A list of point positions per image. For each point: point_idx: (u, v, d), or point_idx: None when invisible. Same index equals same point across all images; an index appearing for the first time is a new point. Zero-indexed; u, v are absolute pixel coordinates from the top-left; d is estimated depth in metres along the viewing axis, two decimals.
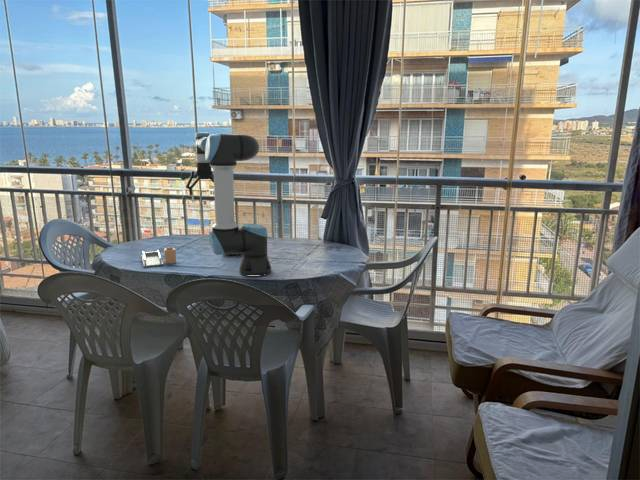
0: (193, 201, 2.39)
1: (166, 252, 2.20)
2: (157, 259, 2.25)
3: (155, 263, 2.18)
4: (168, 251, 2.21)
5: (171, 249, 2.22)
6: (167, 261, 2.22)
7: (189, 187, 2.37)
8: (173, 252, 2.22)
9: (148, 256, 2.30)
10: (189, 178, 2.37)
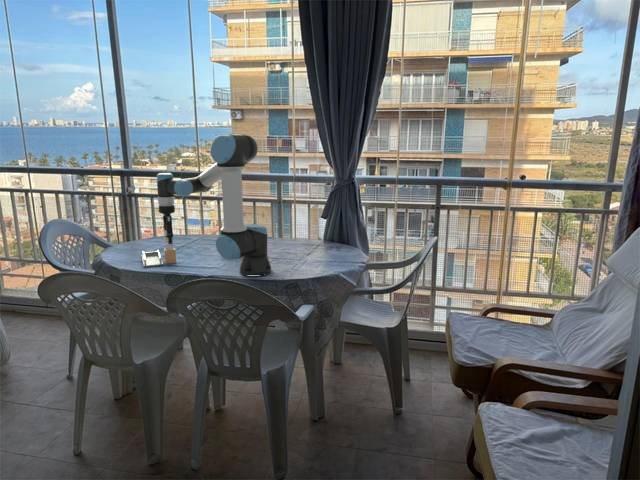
0: None
1: (166, 252, 2.20)
2: (157, 259, 2.25)
3: (155, 263, 2.18)
4: (168, 251, 2.21)
5: None
6: (167, 261, 2.22)
7: None
8: (173, 252, 2.22)
9: (148, 256, 2.30)
10: None
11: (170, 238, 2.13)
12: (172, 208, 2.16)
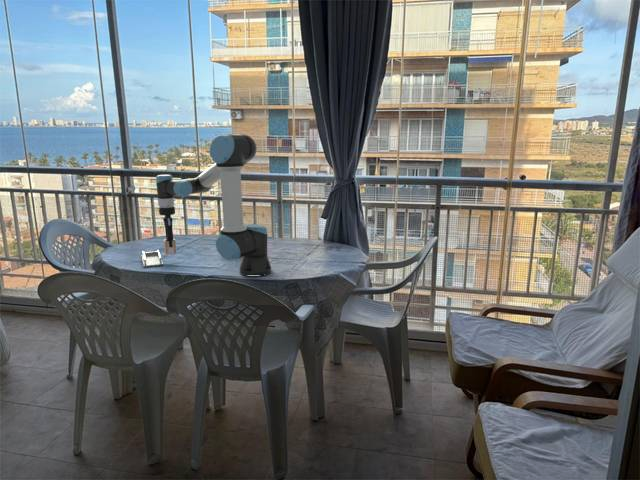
0: None
1: (166, 242, 2.19)
2: (157, 259, 2.25)
3: (155, 263, 2.18)
4: None
5: None
6: (167, 252, 2.20)
7: (167, 236, 2.24)
8: (173, 242, 2.20)
9: (148, 256, 2.30)
10: None
11: (170, 242, 2.18)
12: (172, 209, 2.16)
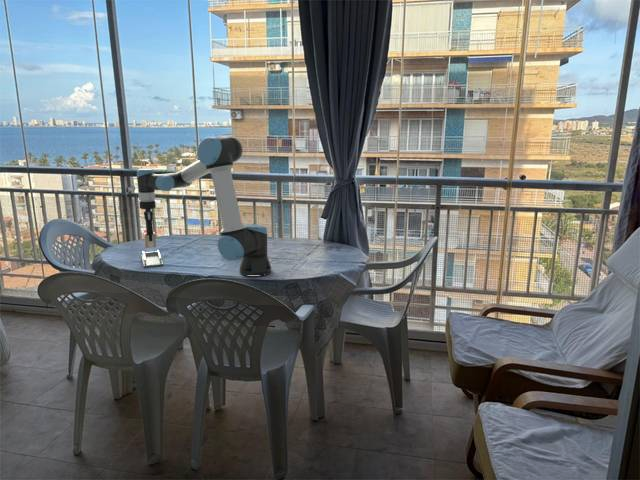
0: None
1: (146, 236, 2.19)
2: (157, 259, 2.25)
3: (155, 263, 2.18)
4: None
5: None
6: (147, 245, 2.21)
7: None
8: (153, 236, 2.21)
9: (148, 256, 2.30)
10: None
11: (150, 236, 2.18)
12: (153, 203, 2.16)
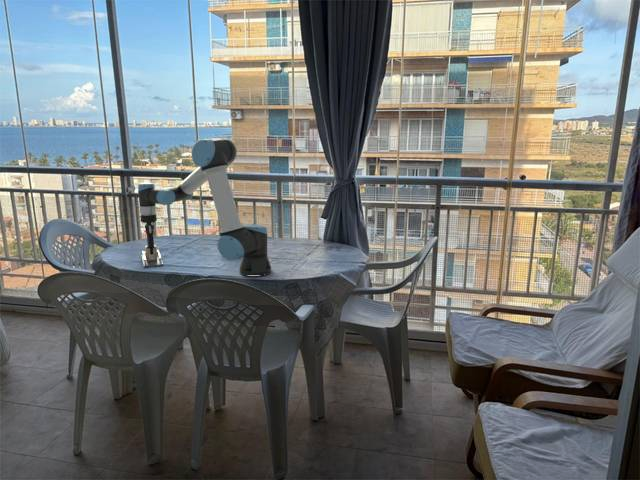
0: None
1: (147, 249, 2.21)
2: (157, 259, 2.25)
3: (155, 263, 2.18)
4: None
5: None
6: (148, 258, 2.22)
7: None
8: (154, 249, 2.22)
9: None
10: None
11: (151, 249, 2.20)
12: (154, 217, 2.18)
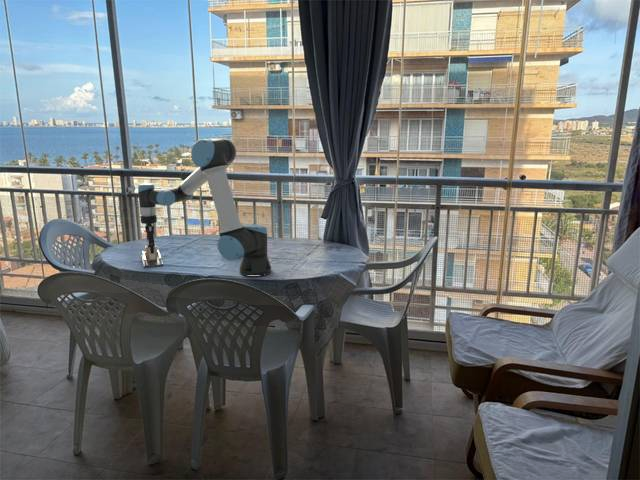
0: None
1: (147, 249, 2.21)
2: (157, 259, 2.25)
3: (155, 263, 2.18)
4: None
5: None
6: (148, 258, 2.22)
7: (148, 237, 2.30)
8: None
9: None
10: None
11: (152, 248, 2.16)
12: (154, 218, 2.18)
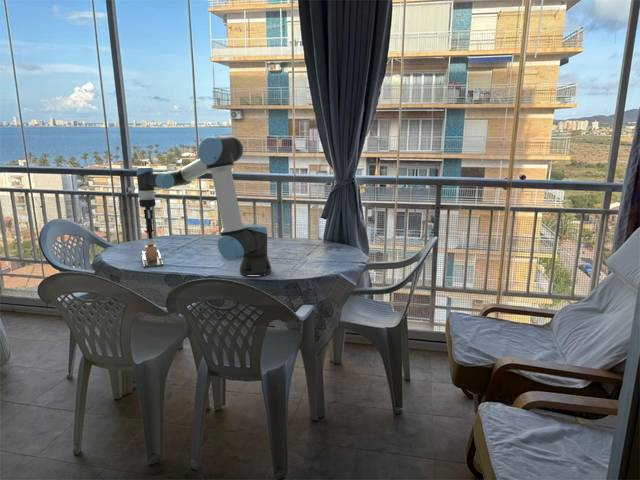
0: None
1: (147, 249, 2.21)
2: (157, 259, 2.25)
3: (155, 263, 2.18)
4: (149, 248, 2.21)
5: (152, 246, 2.22)
6: (148, 258, 2.22)
7: None
8: (154, 249, 2.22)
9: None
10: None
11: (150, 233, 2.20)
12: (152, 202, 2.16)
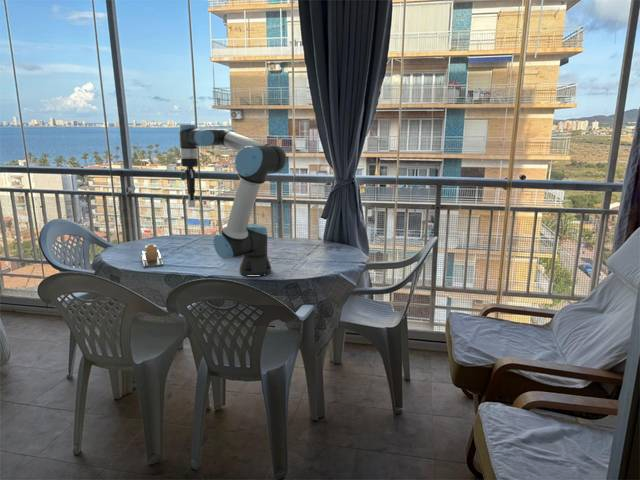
0: None
1: (147, 249, 2.21)
2: (157, 259, 2.25)
3: (155, 263, 2.18)
4: (149, 248, 2.21)
5: (152, 246, 2.22)
6: (148, 258, 2.22)
7: (189, 191, 2.14)
8: (154, 249, 2.22)
9: None
10: None
11: (192, 194, 2.11)
12: (195, 161, 2.07)
